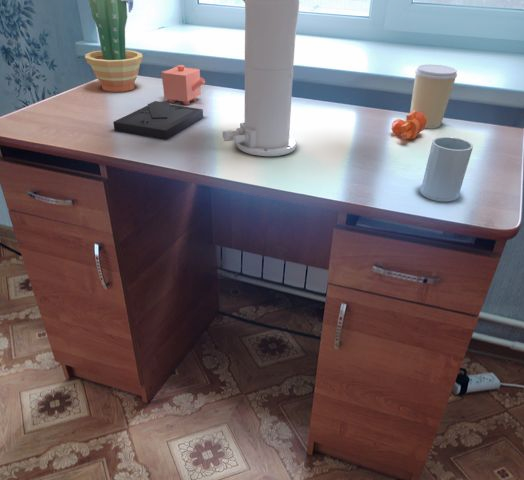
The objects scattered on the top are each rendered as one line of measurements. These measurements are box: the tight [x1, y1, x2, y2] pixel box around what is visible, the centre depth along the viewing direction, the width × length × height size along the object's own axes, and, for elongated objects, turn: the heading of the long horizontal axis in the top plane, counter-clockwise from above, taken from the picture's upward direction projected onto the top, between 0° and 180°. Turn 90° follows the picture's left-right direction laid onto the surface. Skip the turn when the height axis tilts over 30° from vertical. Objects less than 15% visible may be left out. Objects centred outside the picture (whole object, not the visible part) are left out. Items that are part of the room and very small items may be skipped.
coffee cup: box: [409, 64, 458, 129], centre depth 120 cm, size 9×9×12 cm
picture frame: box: [112, 100, 204, 140], centre depth 117 cm, size 13×2×18 cm
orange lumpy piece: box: [390, 110, 427, 140], centre depth 115 cm, size 5×8×12 cm
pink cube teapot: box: [161, 64, 206, 105], centre depth 130 cm, size 8×12×8 cm, turn 69°
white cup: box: [420, 136, 474, 203], centre depth 89 cm, size 7×7×9 cm
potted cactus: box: [84, 0, 143, 93], centre depth 133 cm, size 16×15×25 cm
